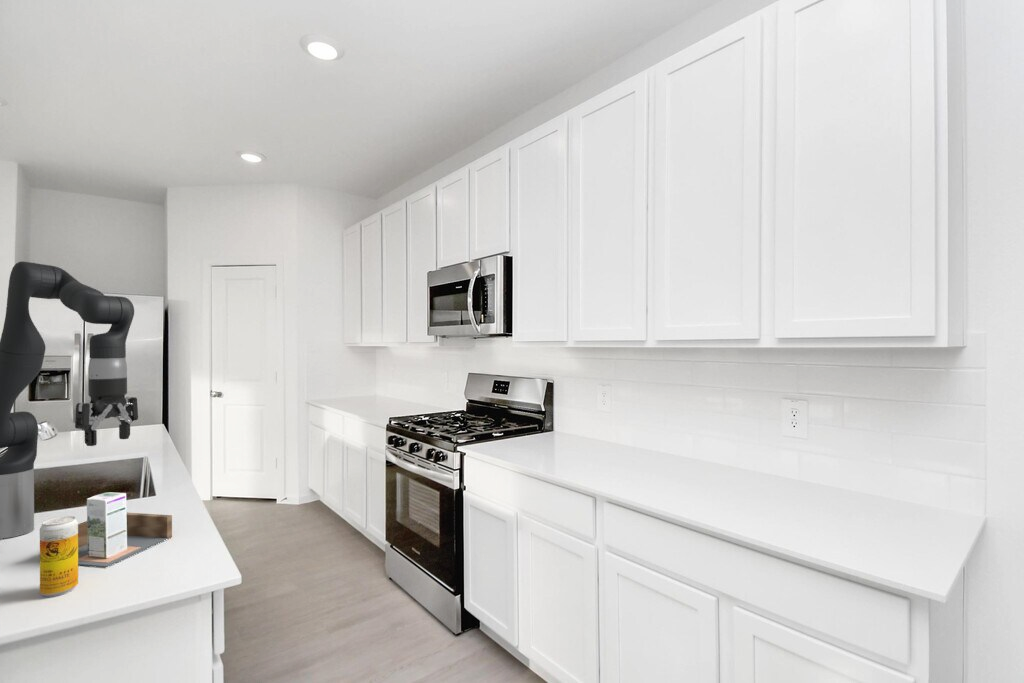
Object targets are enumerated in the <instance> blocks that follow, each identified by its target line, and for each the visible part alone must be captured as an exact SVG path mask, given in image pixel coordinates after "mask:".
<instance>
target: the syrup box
mask: <svg viewBox="0 0 1024 683" xmlns="http://www.w3.org/2000/svg"><path fill="white" fill-rule="evenodd" d="M127 513H128V512H127V493H126V492H112V491H111V492H110V491H109V492H102V493H99V494H95V495H93V496H91V497H88V498H87V497H86V521H87V541H88V557H95V558H110V557H112V556H115V555H117V554H119V553H121V552H123V551H126V550H127Z"/></svg>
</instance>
